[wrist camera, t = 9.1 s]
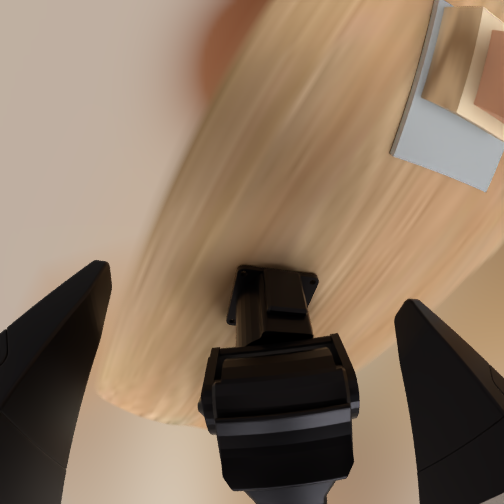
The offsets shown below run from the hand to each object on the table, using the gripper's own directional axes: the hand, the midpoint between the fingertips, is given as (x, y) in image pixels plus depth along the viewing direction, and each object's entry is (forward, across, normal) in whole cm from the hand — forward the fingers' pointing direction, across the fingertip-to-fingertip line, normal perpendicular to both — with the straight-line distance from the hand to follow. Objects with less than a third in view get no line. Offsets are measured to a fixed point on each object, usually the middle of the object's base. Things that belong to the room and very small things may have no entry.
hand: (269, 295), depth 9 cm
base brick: (+12, -13, -10) cm, 20 cm away
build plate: (+12, -14, -8) cm, 20 cm away
